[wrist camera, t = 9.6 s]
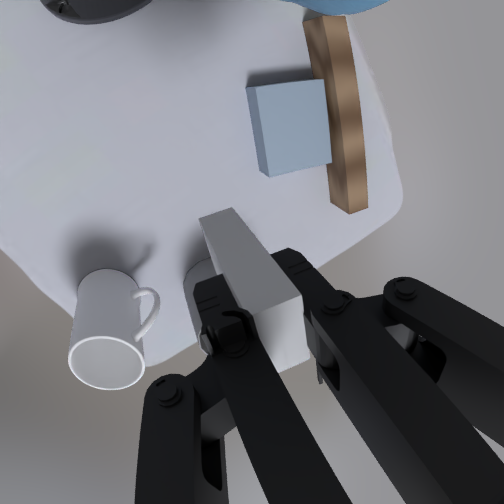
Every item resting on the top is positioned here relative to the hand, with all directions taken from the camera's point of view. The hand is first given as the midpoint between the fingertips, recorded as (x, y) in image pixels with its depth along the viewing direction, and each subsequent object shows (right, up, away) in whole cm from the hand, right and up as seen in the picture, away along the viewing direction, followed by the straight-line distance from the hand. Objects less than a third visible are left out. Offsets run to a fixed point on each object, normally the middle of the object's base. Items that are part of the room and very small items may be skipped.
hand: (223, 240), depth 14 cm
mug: (-16, -5, +24) cm, 29 cm away
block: (+5, +15, +21) cm, 26 cm away
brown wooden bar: (+11, +17, +22) cm, 30 cm away
